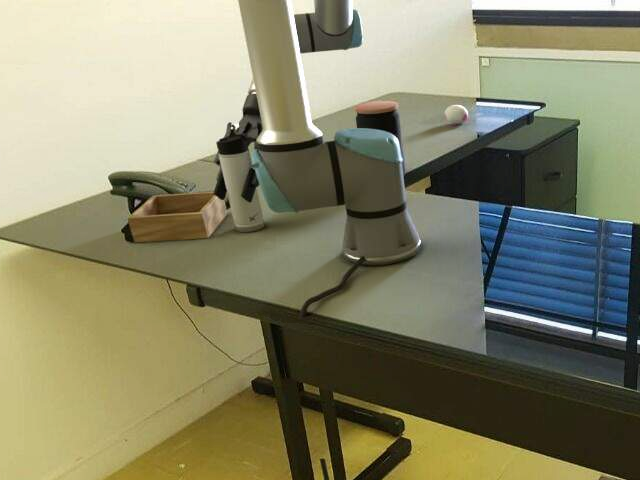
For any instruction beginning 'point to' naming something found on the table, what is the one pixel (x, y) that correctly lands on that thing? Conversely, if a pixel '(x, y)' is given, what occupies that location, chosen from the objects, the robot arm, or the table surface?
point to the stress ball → (456, 114)
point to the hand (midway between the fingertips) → (232, 197)
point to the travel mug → (239, 182)
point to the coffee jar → (381, 119)
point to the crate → (177, 217)
